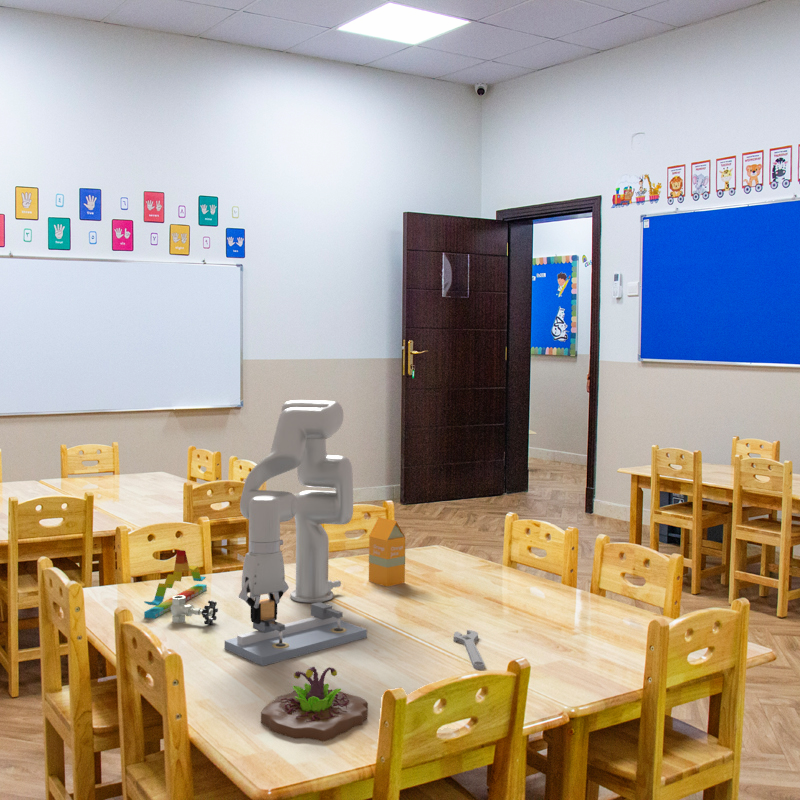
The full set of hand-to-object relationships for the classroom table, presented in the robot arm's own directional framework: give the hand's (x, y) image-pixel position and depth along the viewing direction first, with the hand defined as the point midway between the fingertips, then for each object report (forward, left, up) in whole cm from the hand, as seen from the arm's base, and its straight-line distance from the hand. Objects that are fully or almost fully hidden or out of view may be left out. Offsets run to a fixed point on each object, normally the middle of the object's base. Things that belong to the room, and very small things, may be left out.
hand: (263, 620), depth 222 cm
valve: (+3, -28, -7) cm, 30 cm away
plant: (+17, +42, -7) cm, 46 cm away
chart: (-3, -47, -7) cm, 48 cm away
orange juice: (-65, -26, -7) cm, 70 cm away
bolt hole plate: (-8, +3, -7) cm, 11 cm away
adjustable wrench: (-36, +35, -7) cm, 51 cm away
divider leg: (0, +3, -4) cm, 5 cm away
